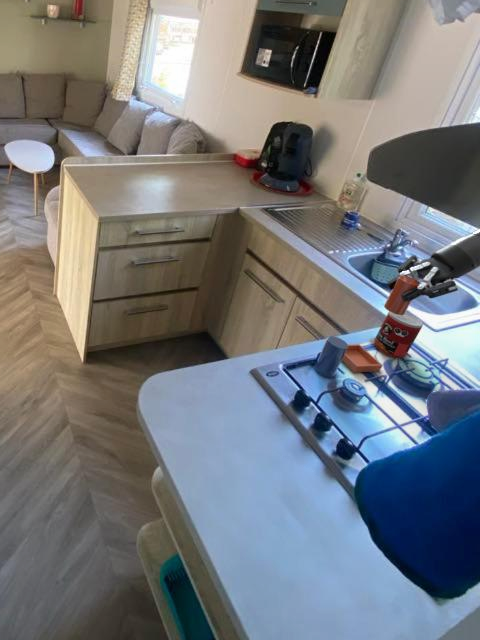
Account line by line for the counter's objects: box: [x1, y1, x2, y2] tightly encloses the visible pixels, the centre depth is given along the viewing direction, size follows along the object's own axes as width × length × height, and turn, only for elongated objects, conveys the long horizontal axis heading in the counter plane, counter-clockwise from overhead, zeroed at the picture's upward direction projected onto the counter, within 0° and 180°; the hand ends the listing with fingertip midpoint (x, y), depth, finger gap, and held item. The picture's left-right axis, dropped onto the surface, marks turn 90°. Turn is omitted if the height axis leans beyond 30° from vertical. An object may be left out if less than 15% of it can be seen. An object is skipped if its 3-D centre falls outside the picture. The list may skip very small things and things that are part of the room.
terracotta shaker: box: [383, 275, 421, 315], centre depth 106 cm, size 5×5×9 cm
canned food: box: [373, 311, 424, 359], centre depth 116 cm, size 8×8×11 cm
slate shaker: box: [314, 335, 349, 378], centre depth 104 cm, size 5×5×9 cm
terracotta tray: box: [341, 343, 383, 373], centre depth 111 cm, size 8×8×2 cm
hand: (396, 292), depth 106 cm, fingers closed on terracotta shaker, 4 cm apart
